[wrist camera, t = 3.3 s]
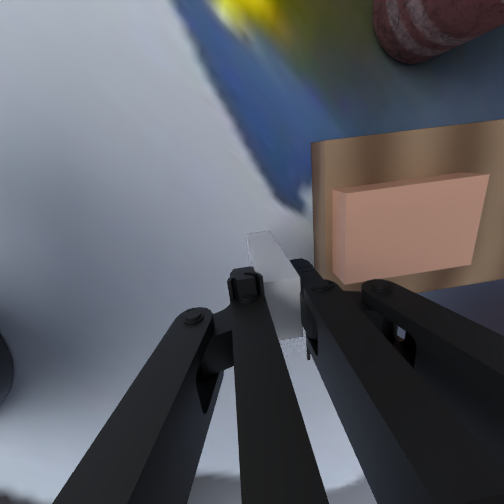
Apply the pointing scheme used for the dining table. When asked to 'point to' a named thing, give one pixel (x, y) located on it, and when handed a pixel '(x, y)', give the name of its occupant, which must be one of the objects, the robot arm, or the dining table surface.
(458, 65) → the dining table surface
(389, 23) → the can
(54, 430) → the dining table surface
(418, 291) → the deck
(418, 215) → the tile
